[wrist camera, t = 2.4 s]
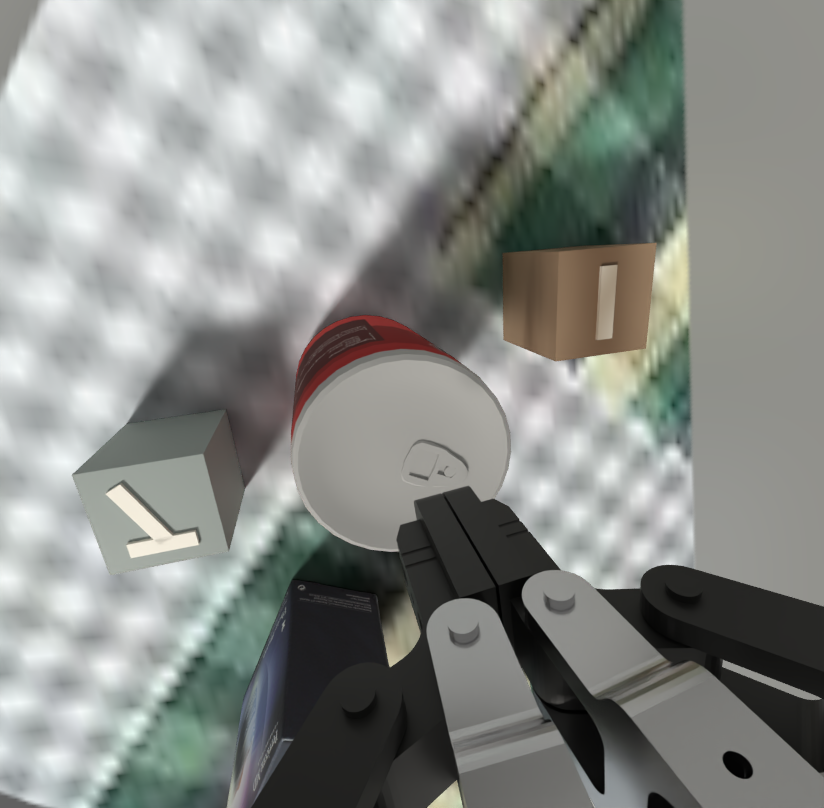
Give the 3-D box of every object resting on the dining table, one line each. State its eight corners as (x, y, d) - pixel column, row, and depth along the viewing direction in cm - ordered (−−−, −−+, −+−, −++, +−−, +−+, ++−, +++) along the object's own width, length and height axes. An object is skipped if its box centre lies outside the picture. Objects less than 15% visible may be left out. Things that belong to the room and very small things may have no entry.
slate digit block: (226, 408, 24) (202, 455, 19) (245, 488, 26) (228, 553, 20) (127, 423, 23) (70, 476, 18) (153, 504, 25) (108, 577, 19)
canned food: (425, 442, 28) (495, 549, 17) (293, 440, 26) (285, 560, 15) (441, 319, 25) (532, 360, 15) (298, 306, 23) (293, 343, 13)
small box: (286, 574, 28) (276, 739, 19) (379, 591, 30) (414, 747, 21) (237, 699, 30) (205, 905, 21) (327, 707, 33) (337, 897, 23)
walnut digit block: (581, 245, 26) (658, 242, 20) (577, 330, 28) (648, 348, 22) (502, 253, 25) (560, 251, 19) (503, 339, 27) (557, 361, 21)
